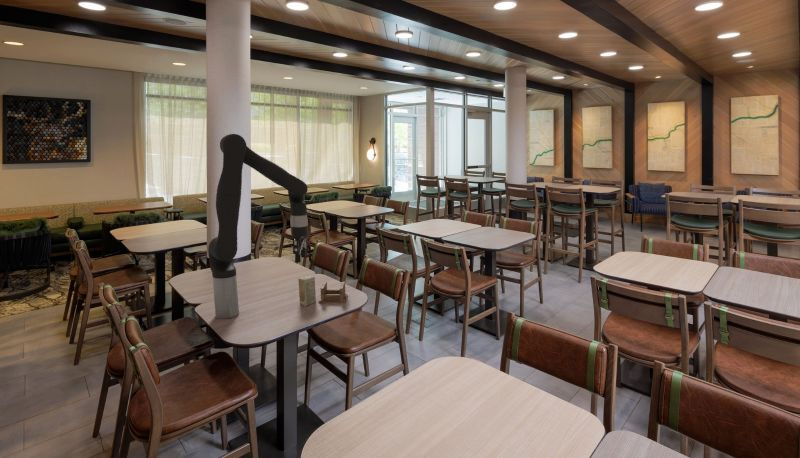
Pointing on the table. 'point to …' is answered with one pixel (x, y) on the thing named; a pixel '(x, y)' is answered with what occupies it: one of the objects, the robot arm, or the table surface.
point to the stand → (333, 294)
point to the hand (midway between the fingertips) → (300, 259)
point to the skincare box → (307, 290)
